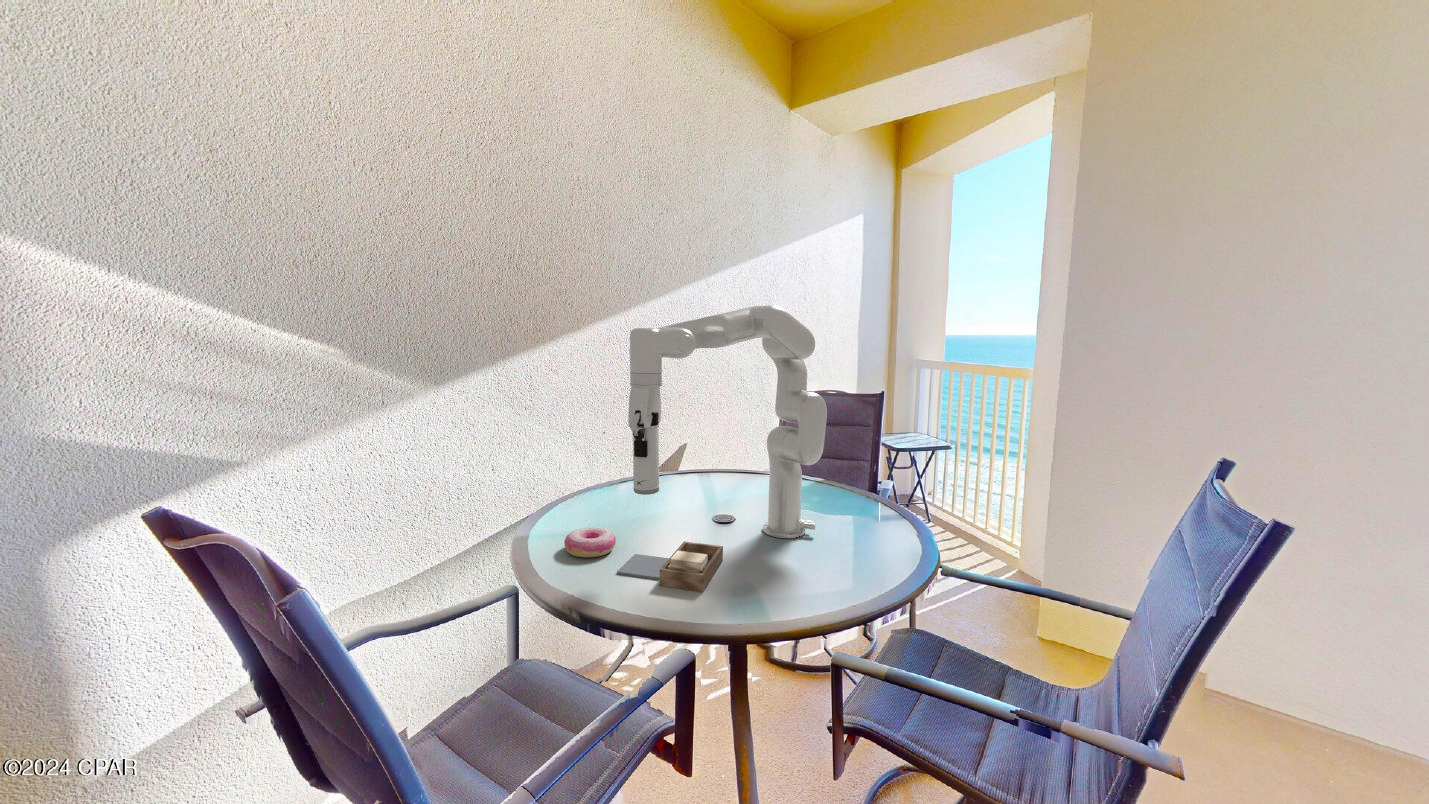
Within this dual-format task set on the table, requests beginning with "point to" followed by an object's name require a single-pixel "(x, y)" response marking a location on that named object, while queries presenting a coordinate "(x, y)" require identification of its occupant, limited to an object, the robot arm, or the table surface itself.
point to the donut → (590, 542)
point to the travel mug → (648, 462)
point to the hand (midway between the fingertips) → (646, 452)
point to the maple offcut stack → (688, 562)
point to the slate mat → (643, 566)
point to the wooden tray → (689, 578)
